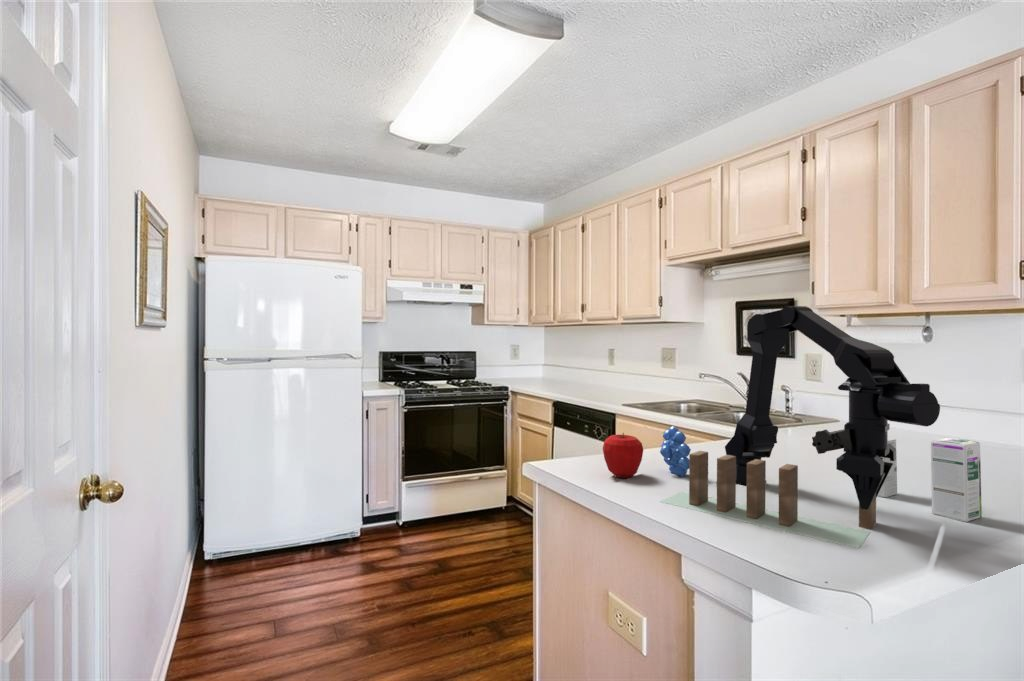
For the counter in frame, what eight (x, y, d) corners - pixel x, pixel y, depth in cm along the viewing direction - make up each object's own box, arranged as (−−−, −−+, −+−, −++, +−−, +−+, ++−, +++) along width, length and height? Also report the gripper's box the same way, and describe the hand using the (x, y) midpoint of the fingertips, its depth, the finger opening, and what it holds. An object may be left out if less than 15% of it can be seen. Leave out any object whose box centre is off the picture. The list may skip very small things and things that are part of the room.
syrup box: (967, 522, 95) (967, 444, 95) (930, 513, 100) (930, 438, 100) (982, 518, 98) (982, 441, 98) (944, 509, 103) (944, 436, 103)
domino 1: (689, 504, 103) (689, 454, 103) (699, 499, 106) (699, 450, 107) (698, 506, 102) (698, 455, 102) (708, 501, 105) (708, 451, 105)
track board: (681, 494, 112) (681, 491, 112) (870, 535, 88) (870, 531, 88) (659, 504, 105) (659, 501, 105) (858, 552, 81) (858, 548, 81)
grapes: (648, 470, 133) (649, 423, 133) (672, 469, 135) (673, 423, 135) (671, 482, 122) (671, 431, 122) (697, 480, 123) (697, 430, 123)
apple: (595, 473, 129) (595, 430, 129) (626, 470, 133) (627, 428, 133) (618, 483, 120) (618, 437, 120) (651, 479, 124) (651, 434, 124)
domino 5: (858, 530, 91) (859, 473, 91) (864, 523, 94) (864, 468, 95) (871, 532, 90) (871, 475, 90) (876, 525, 93) (876, 470, 93)
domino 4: (778, 524, 92) (778, 468, 92) (786, 518, 95) (786, 463, 95) (789, 527, 90) (789, 470, 90) (797, 520, 94) (797, 465, 94)
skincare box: (886, 498, 110) (886, 441, 110) (862, 493, 114) (862, 438, 114) (898, 493, 114) (898, 438, 114) (875, 489, 117) (875, 435, 117)
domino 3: (746, 517, 95) (746, 463, 95) (755, 511, 99) (755, 459, 99) (756, 519, 94) (756, 464, 94) (765, 513, 98) (765, 460, 98)
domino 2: (716, 510, 99) (716, 458, 99) (726, 505, 103) (726, 454, 103) (726, 512, 98) (726, 460, 98) (735, 507, 101) (735, 456, 102)
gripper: (828, 409, 105) (828, 486, 104) (803, 418, 91) (802, 506, 91) (896, 414, 97) (896, 497, 97) (880, 425, 83) (879, 522, 83)
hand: (867, 505), depth 92 cm, fingers open, 6 cm apart
